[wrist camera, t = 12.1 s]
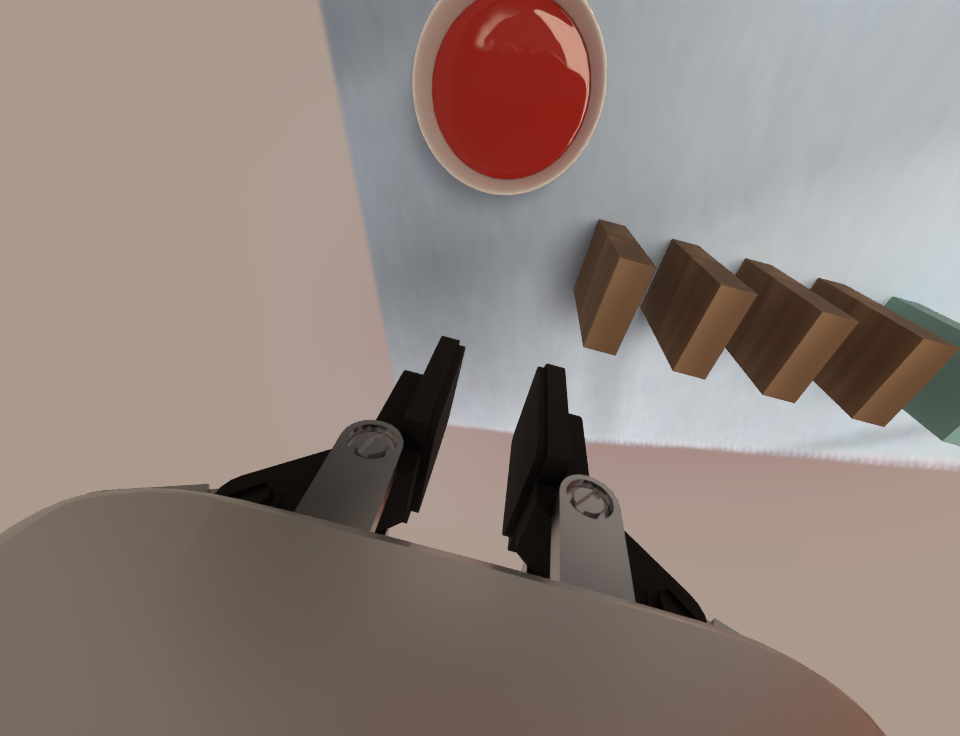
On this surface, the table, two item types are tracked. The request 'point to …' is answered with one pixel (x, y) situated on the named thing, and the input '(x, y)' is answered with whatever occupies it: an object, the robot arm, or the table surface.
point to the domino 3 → (785, 332)
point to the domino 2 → (694, 308)
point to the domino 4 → (878, 357)
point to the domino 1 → (610, 286)
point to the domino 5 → (951, 391)
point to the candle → (509, 89)
